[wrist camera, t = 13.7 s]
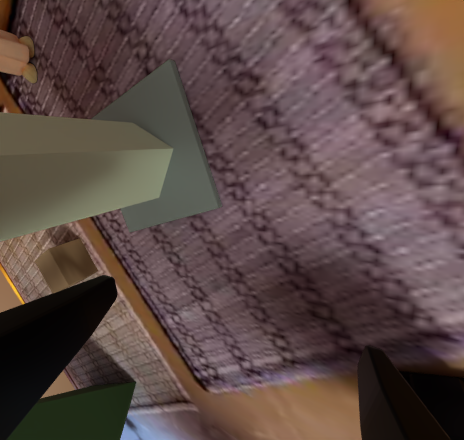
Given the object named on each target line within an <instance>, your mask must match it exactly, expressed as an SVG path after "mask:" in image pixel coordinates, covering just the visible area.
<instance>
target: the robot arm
mask: <svg viewBox="0 0 464 440" xmlns="http://www.w3.org/2000/svg"><path fill="white" fill-rule="evenodd" d="M116 298H117V289H116V284H115V279H114V278H113V277H110V276H106V275H102V276H99V277H97V278H94V279H91V280H88V281H86V282H83V283H80V284H77V285H75V286H72V287H69V288H67V289H64V290H61V291H58V292H56V293H53V294H50V295H47V296H45V297H42V298H39V299H37V300H34V301H31V302H28V303H26V304H23V305H20V306H18V307H15V308H12V309H9V310H7V311H4V312H1V313H0V440H7V439H8V437H9V436H10V435H11V434H12V432H13V431H14V430H15V429H16V428H17V426H18V425H19V424H20V423H21V421H22V420H23V419H24V418H25V416H26V415H27V414H28V413H29V412H30V410H31V409H32V408H33V407H34V405H35V404H36V403H37V402H38V400H39V399H40V398H41V397H42V396H43V394H44V393H45V392H46V391H47V389H48V388H49V387H50V386H51V384H52V383H53V382H54V381H55V379H56V378H57V377H58V376H59V375H60V373H61V372H62V371H63V370H64V368H65V367H66V366H67V365H68V364H69V362H70V361H71V360H72V359H73V357H74V356H75V355H76V354H77V353H78V351H79V350H80V349H81V348H82V346H83V345H84V344H85V343H86V341H87V340H88V339H89V338H90V336H91V335H92V334H93V332H94V331H95V329H96V328H97V327H98V325H99V324H100V322H101V321H102V319H103V318H104V316H105V315H106V313H107V312H108V310H109V309H110V307H111V306H112V304H113V303H114V302H115V300H116ZM358 391H359V411H360V427H361V435H362V440H464V378H459V377H450V376H440V375H431V374H421V373H412V372H402V371H398V370H397V368H396V367H395V366H394V364H393V363H392V362H391V360H390V359H389V358H388V357H387V355H386V354H385V353H384V351H383V350H381V349H380V348H376V347H372V346H366V347H365V348H364V350H363V353H362V355H361V357H360V360H359V363H358Z"/></svg>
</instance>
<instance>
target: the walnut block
mask: <svg viewBox="0 0 464 440" xmlns="http://www.w3.org/2000/svg"><path fill="white" fill-rule="evenodd" d="M35 262H36V264H37V266H38V268H39V269H40V271H41V273H42V275H43V277H44V278H45V280H46V282H47V284H48V285H49V287H50V289H51V291H52V293H56V292H58V291H61V290H64V289H66V288H68V287H70V286H72V285H74V284H76V283H78V282H80V281H82V280H84V279H85V278H87V277H89V276H91V275H92V274H94V273H96V272H97V271H98V270H97V268H96V266H95V264H94V263H93V261H92V259H91V257H90V255H89V254H88V252H87V250H86V248H85V246H84V245H83V243H82V241H81V239H80V238H79V239H76V240H73V241H70V242H67V243H64V244H61V245H59V246H56V247H53V248H50V249H48V250H47V251H46V252H44V253H43V254H42V255H41V256H40V257H39V258H38V259H37V260H36V261H35Z"/></svg>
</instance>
